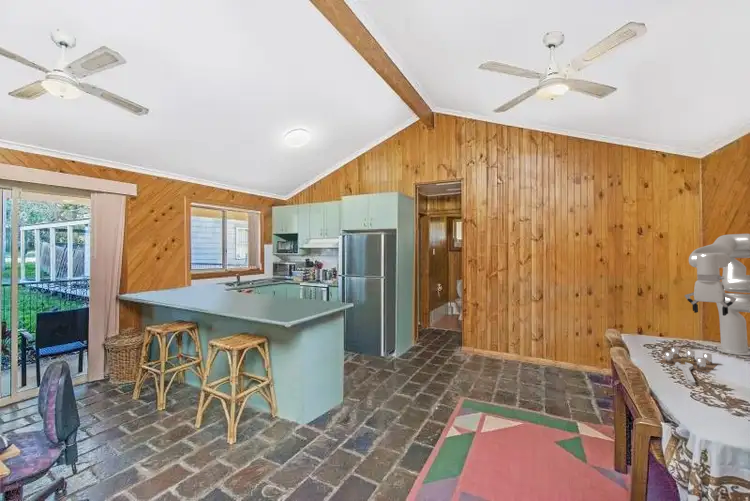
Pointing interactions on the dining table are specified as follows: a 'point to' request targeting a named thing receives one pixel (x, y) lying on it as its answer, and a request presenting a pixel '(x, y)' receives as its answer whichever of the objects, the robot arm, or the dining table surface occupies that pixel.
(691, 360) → the nut
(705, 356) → the spacers
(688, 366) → the adjustable wrench
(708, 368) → the board
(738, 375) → the dining table surface
